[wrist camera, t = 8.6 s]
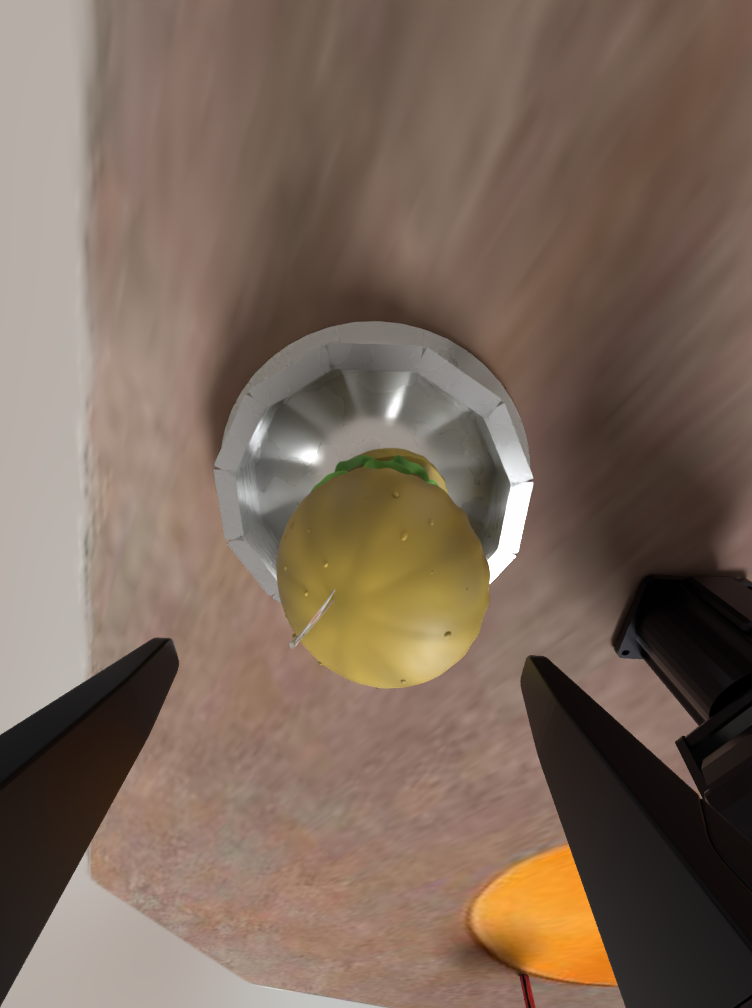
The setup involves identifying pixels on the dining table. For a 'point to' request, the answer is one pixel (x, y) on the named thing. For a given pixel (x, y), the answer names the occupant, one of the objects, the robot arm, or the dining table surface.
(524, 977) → the lantern
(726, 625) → the robot arm
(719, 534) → the dining table surface
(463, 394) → the collar
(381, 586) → the hamburger
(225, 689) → the dining table surface
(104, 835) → the dining table surface
